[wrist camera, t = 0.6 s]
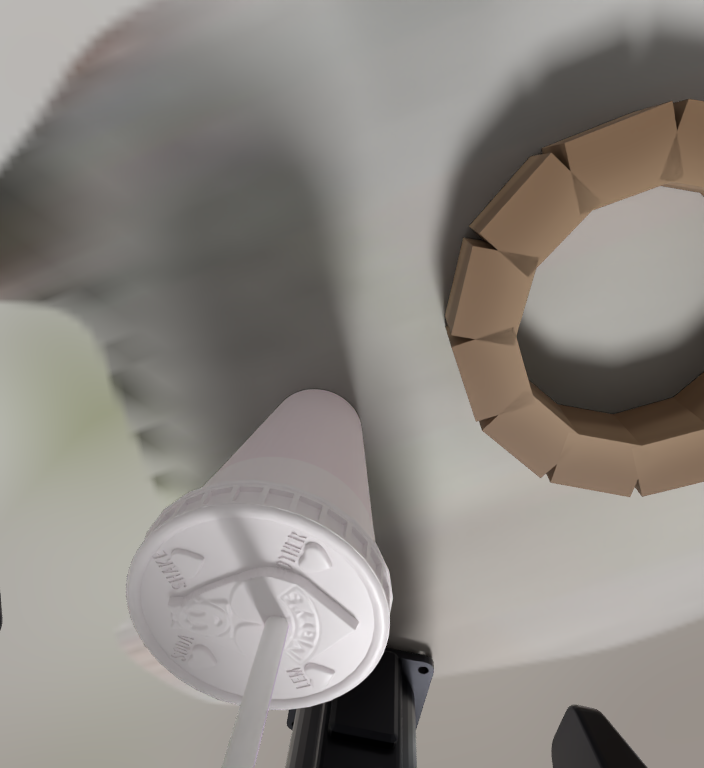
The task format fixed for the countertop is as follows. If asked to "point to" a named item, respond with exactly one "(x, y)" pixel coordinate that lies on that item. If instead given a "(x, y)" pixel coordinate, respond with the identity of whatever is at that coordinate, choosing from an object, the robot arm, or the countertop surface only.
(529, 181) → the walnut ring
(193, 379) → the countertop surface
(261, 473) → the smoothie
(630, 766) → the robot arm
